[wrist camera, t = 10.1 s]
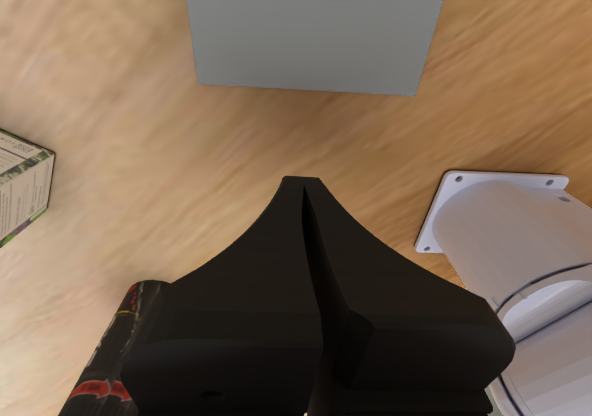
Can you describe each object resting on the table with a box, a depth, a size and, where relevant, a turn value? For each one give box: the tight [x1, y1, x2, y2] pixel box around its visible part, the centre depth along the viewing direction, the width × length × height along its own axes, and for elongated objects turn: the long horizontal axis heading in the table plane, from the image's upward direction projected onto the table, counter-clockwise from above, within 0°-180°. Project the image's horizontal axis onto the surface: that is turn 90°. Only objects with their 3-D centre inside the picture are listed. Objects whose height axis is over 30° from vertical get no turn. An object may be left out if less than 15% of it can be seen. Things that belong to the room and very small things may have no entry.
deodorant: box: [58, 280, 170, 416], centre depth 22 cm, size 6×6×15 cm
